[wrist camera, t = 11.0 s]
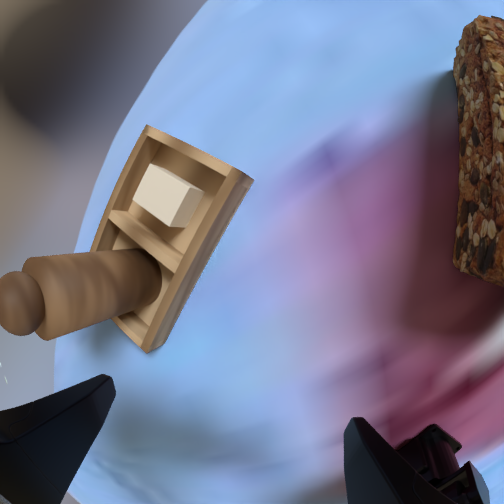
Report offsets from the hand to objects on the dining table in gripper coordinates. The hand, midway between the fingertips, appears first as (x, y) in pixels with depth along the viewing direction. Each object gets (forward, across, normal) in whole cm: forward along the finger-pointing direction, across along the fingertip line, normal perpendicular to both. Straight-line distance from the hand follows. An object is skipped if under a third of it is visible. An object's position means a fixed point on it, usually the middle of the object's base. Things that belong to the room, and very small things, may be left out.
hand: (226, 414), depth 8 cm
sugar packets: (+15, +8, -6) cm, 17 cm away
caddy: (+15, +9, -2) cm, 18 cm away
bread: (+11, -19, -13) cm, 26 cm away
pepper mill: (+14, +10, +1) cm, 18 cm away
